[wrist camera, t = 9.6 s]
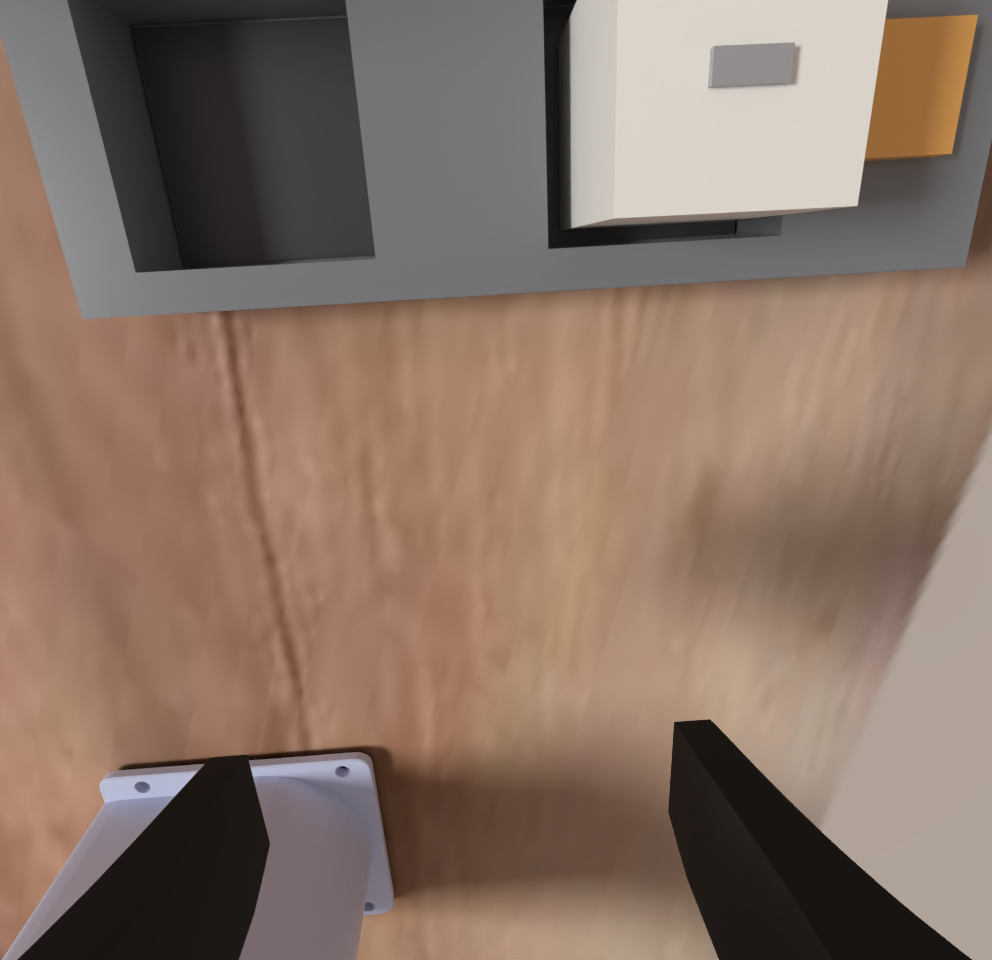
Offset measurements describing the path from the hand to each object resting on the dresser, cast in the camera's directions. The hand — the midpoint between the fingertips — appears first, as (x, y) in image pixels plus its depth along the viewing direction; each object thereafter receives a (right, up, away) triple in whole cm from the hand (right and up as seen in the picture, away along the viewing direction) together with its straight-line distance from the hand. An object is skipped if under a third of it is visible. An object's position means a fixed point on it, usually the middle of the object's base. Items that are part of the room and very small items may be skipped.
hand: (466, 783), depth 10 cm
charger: (+4, +13, +4) cm, 15 cm away
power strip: (+1, +14, +5) cm, 15 cm away
